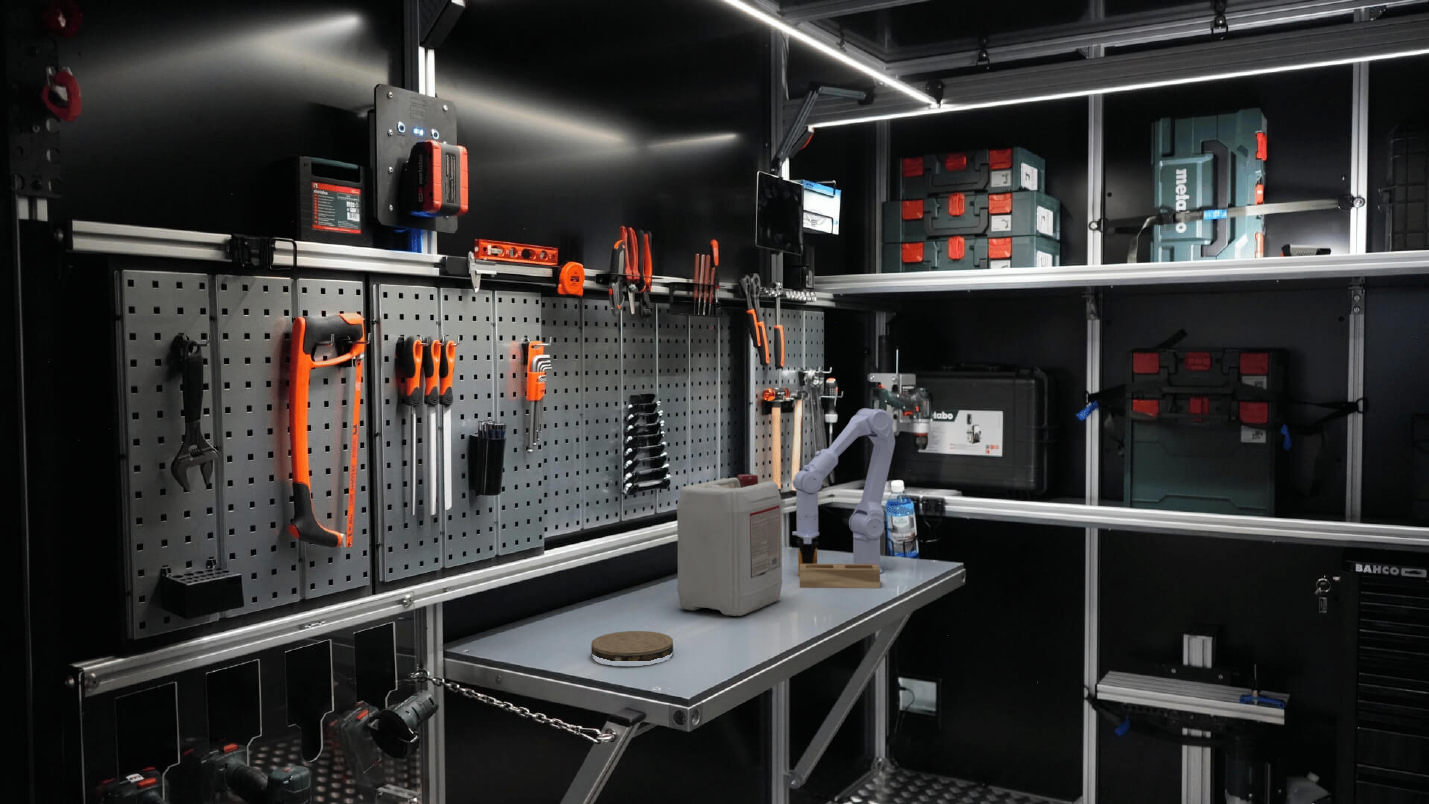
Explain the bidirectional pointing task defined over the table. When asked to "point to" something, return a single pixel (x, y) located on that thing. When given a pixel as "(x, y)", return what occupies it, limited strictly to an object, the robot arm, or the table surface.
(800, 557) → the orange wooden block
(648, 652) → the brown round disc
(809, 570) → the slotted wooden block
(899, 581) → the table surface
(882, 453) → the robot arm
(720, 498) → the jerry can
